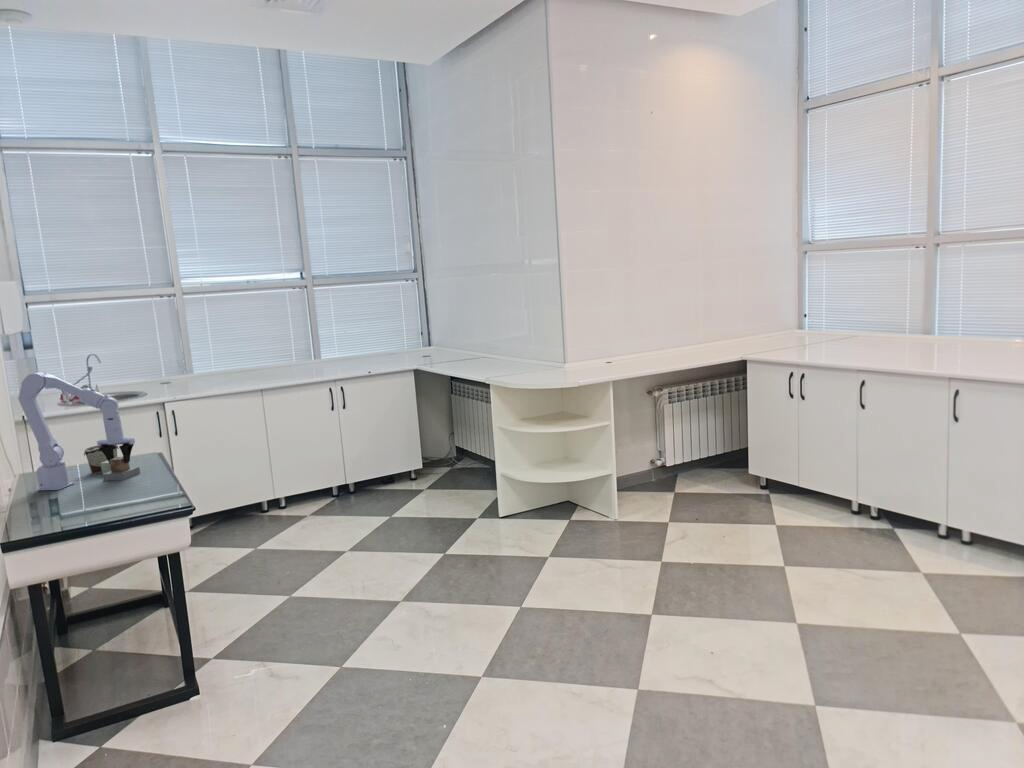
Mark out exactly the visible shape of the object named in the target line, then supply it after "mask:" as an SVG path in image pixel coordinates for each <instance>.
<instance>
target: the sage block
mask: <svg viewBox="0 0 1024 768" xmlns="http://www.w3.org/2000/svg"><path fill="white" fill-rule="evenodd" d="M100 464H101V469H102V472H101V474H102V476H103V474H104V473H107V472H109V471H111V466H110V464H109V462H108V460H107V461H105V462H102V463H100Z"/></svg>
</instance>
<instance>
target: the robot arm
mask: <svg viewBox="0 0 1024 768" xmlns="http://www.w3.org/2000/svg"><path fill="white" fill-rule="evenodd" d="M43 389H45V390H50V389H56V390H59V391H63V392H64V393H67V394H70V395H72V396H75V397H77V398H78V399H79V401H80V403H83V404H85V405H87V406H90V407H92V408H95V409H99V410H100V412H101V413H102V420H103V425H104V426H103V427H104V431H105V437H106V439H99V440H97V441H96V444H97V445H96V446H101V445H102V446H101V447H100V450H101V451H102V452H103V453H104V455H105V456H106V458H107V460H108V462H109V464H110V461H109V460H111V459H113V458H114V454H113V448H114V445H117V446H118V445H119V447H118V448H119V450H120V452H121V454H122V457H123V458H124V462H125V463H128V462H129V463H130V462H131V454H132V449H133V447H134V444H136V441H135V440H136V439H135V437H133V438H132V437H124V434H123V426H122V421H121V416H120V412H119V411H120V410H119V409H118V408H119V401H118V400H117V399H116V398H114V396H109V395H108V394H106V393H105V394H102V393H101V392H99V391H96V388H93V387H92V388H89V387H87V388H81V387H79V386H76V385H74V384H73V383H71V382H68V381H67V380H64V379H63V378H59V376H58V377H57V376H56V375H53V374H50V373H46V372H44V371H42V370H41V371H40V370H37V371H34V372H32V373H30V374H28V375H26V376H25V377H24V379H23V380H22V381H21V386H20V389H19V394H18V401H19V405H20V406H21V408H22V411H23V413H24V415H25V418H26V419H27V422H28V424H29V426H30V428H31V430H32V432H33V435H34V437H35V440H36V442H37V447H38V448H37V449H38V452H39V461H40V463H41V465H39V466H38V468H37V470H36V478H37V483H38V488H37V491H59V490H62V489H64V488H67V487H70V486H72V485H75V482H74V481H72V482H69V477H68V473H67V466H66V461H65V460H64V459H63V458H64V454H65V451H64V449H63V448H62V447H61V446H60V445H59V444H58V442H57V440H56V439H55V438H54V437H53V434H52V433H51V430H50V428H49V425H48V423H47V421H46V418H45V416H44V414H43V411H42V410H41V408H40V405H39V404H38V401H37V397H38V396H39V395H40V393H41V391H42V390H43Z"/></svg>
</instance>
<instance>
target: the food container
mask: <svg viewBox="0 0 1024 768" xmlns="http://www.w3.org/2000/svg"><path fill="white" fill-rule="evenodd" d="M101 446H102V445H101ZM101 446H98V445H95V446H90V447H88V448H86V449H84V451H83V452H84V454H83V456H84V457H85V456H86V460H87V463H88V465H89V469H90V472H91V474H92V475H95V474H99V472H100V473H102V469H101V464H100V463H102V462H105V461H107V458H106V456H105V455H104V453H103V452H102V451H101V450H100V447H101ZM118 450H120V448H119V447H118V445H114V448H113V454H114V458H116V457H118Z"/></svg>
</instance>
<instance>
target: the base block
mask: <svg viewBox="0 0 1024 768" xmlns="http://www.w3.org/2000/svg"><path fill="white" fill-rule="evenodd" d="M129 467H130V469H128V470H126V471H124V472H114V473H112V472H111V471H109V472H107V473H104V474H103V475H102V480H103V481H125V480H127V479H130V478H132V477H135V476H136V474H137V475H138V473H139V474H140V473H141V470H140V466H129ZM129 477H130V478H129Z"/></svg>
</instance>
